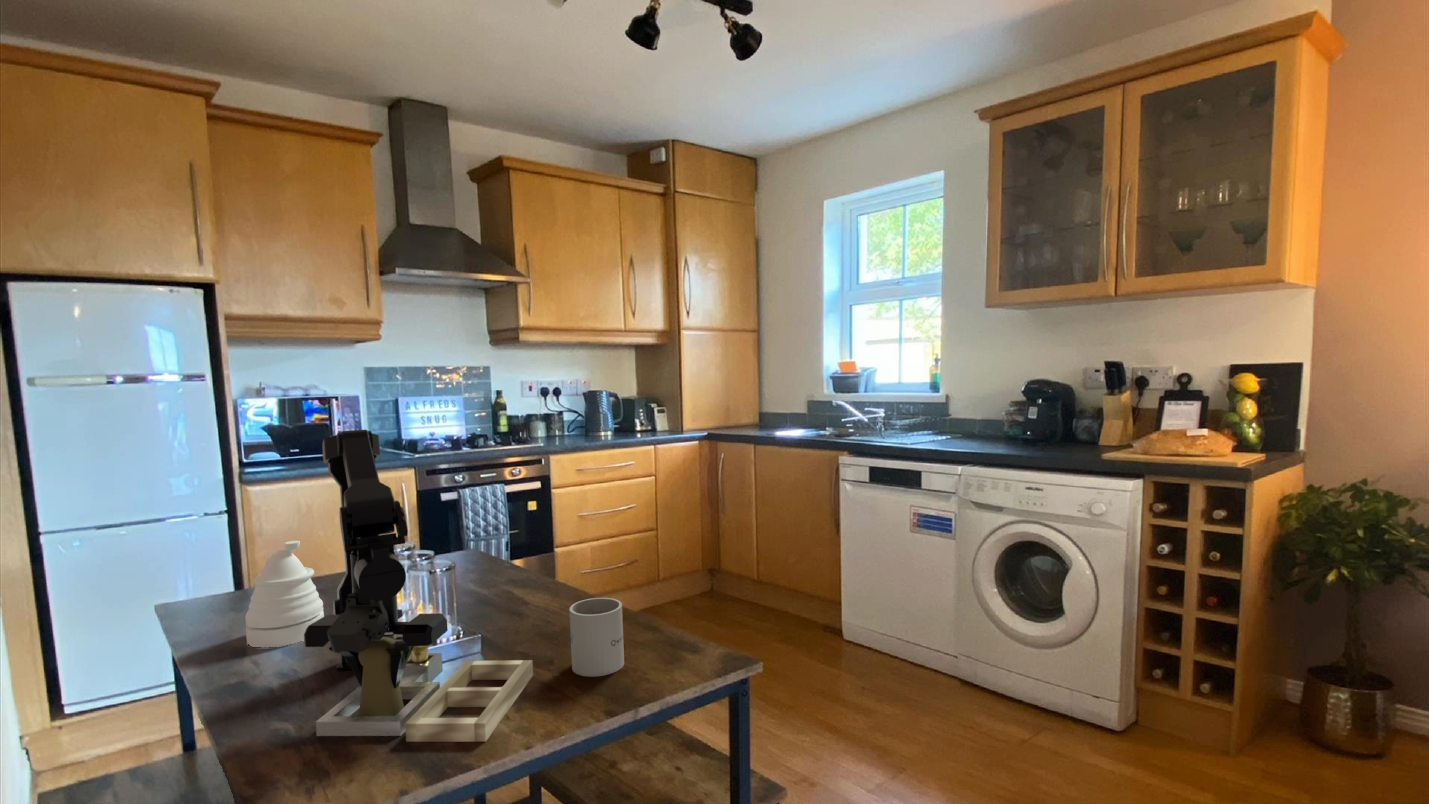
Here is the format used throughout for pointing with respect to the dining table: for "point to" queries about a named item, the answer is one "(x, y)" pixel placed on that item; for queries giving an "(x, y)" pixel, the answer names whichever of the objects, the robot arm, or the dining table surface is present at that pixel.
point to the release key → (419, 655)
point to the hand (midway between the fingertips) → (380, 687)
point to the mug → (596, 636)
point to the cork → (378, 681)
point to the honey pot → (282, 601)
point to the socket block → (413, 687)
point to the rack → (470, 702)
